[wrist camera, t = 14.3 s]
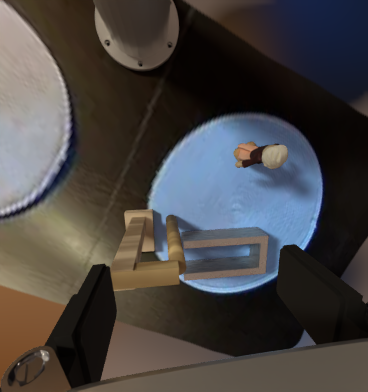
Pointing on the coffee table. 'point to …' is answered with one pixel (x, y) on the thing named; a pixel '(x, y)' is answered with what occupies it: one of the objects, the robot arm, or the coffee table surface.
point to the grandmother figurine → (260, 155)
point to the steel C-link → (231, 264)
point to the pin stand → (142, 242)
